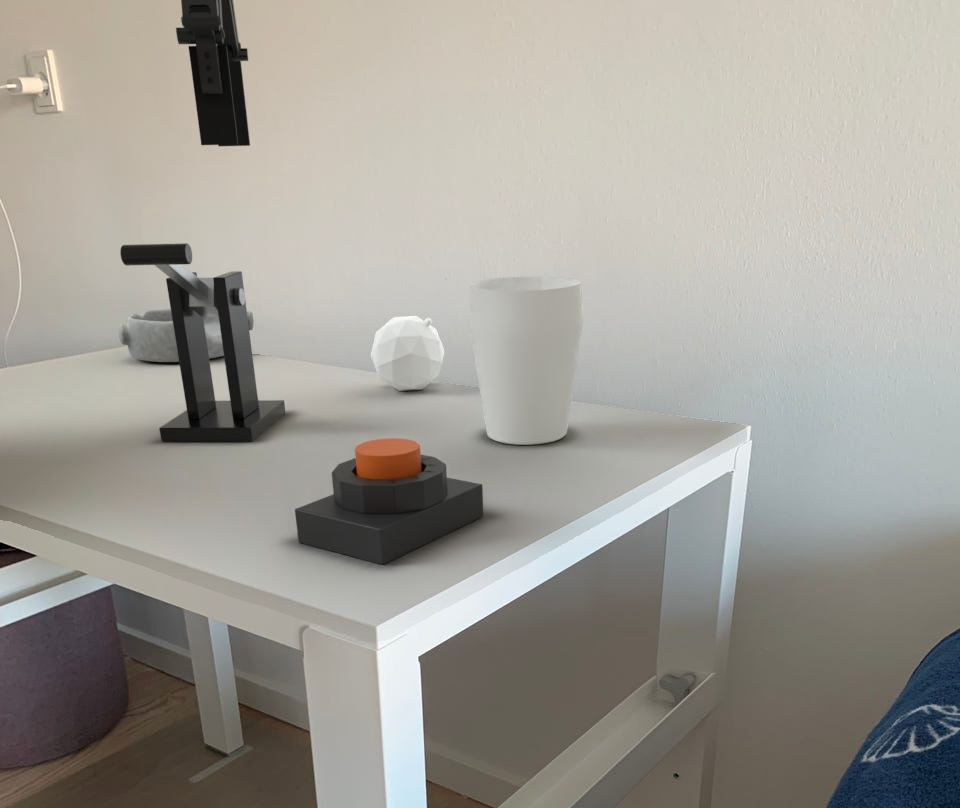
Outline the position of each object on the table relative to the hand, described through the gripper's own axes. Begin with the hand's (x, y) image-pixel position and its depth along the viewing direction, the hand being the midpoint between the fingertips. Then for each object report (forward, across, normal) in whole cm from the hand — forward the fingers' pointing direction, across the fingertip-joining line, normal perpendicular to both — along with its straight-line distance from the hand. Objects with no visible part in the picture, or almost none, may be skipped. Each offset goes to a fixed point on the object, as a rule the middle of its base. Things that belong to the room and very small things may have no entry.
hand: (227, 146), depth 83 cm
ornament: (+22, +8, -14) cm, 28 cm away
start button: (+19, -34, -10) cm, 40 cm away
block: (+22, -34, -10) cm, 42 cm away
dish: (+23, +35, +11) cm, 43 cm away
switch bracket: (+22, -3, +3) cm, 23 cm away
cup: (+22, -13, -23) cm, 34 cm away
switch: (+11, -8, +4) cm, 14 cm away
